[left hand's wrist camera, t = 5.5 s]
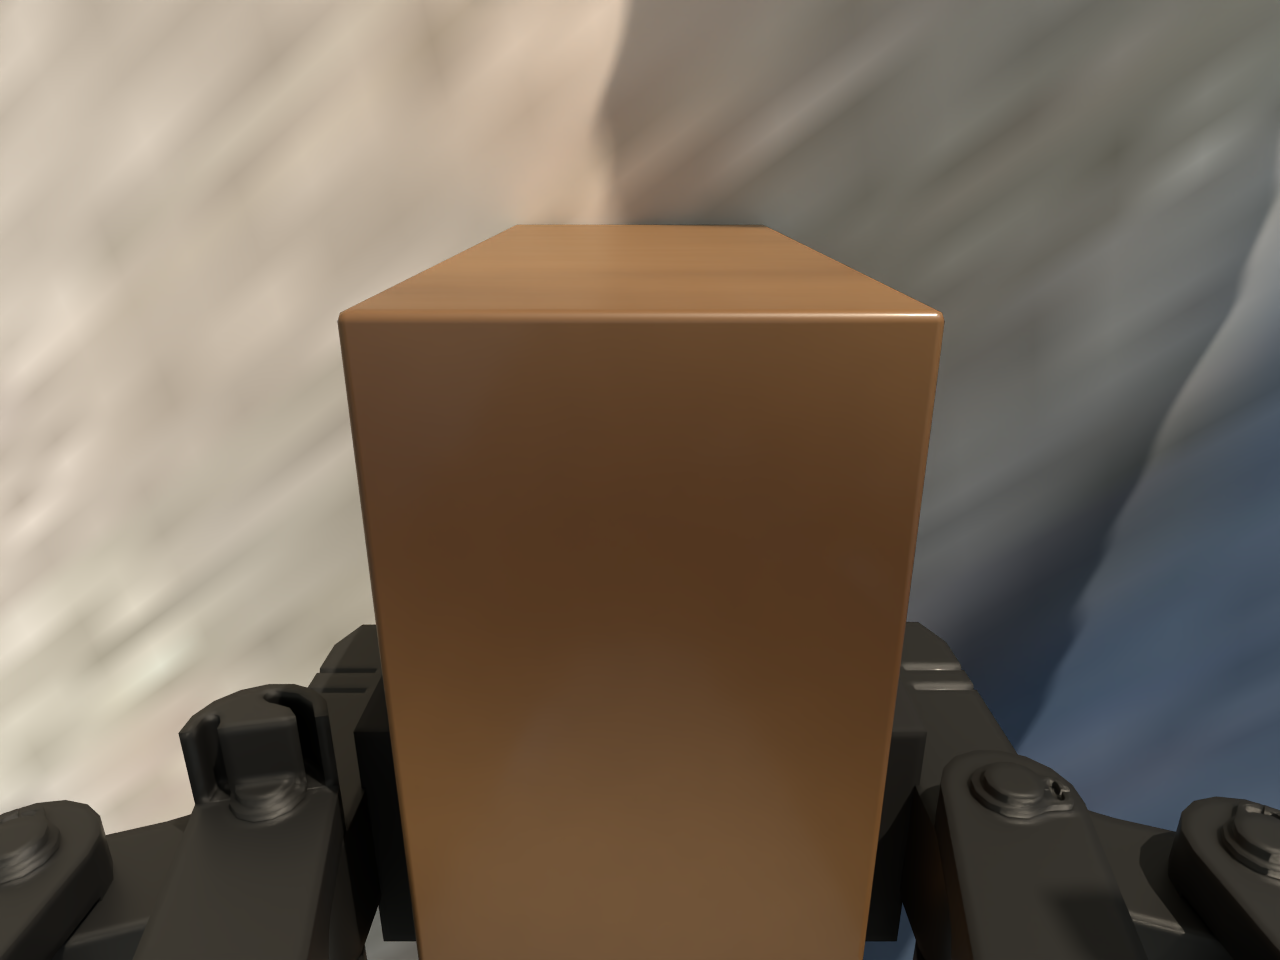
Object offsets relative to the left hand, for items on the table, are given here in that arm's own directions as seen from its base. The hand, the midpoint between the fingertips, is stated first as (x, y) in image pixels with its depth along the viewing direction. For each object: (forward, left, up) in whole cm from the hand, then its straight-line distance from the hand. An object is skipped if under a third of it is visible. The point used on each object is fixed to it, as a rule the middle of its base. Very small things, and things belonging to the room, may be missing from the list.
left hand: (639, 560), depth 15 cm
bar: (+15, +26, -1) cm, 30 cm away
